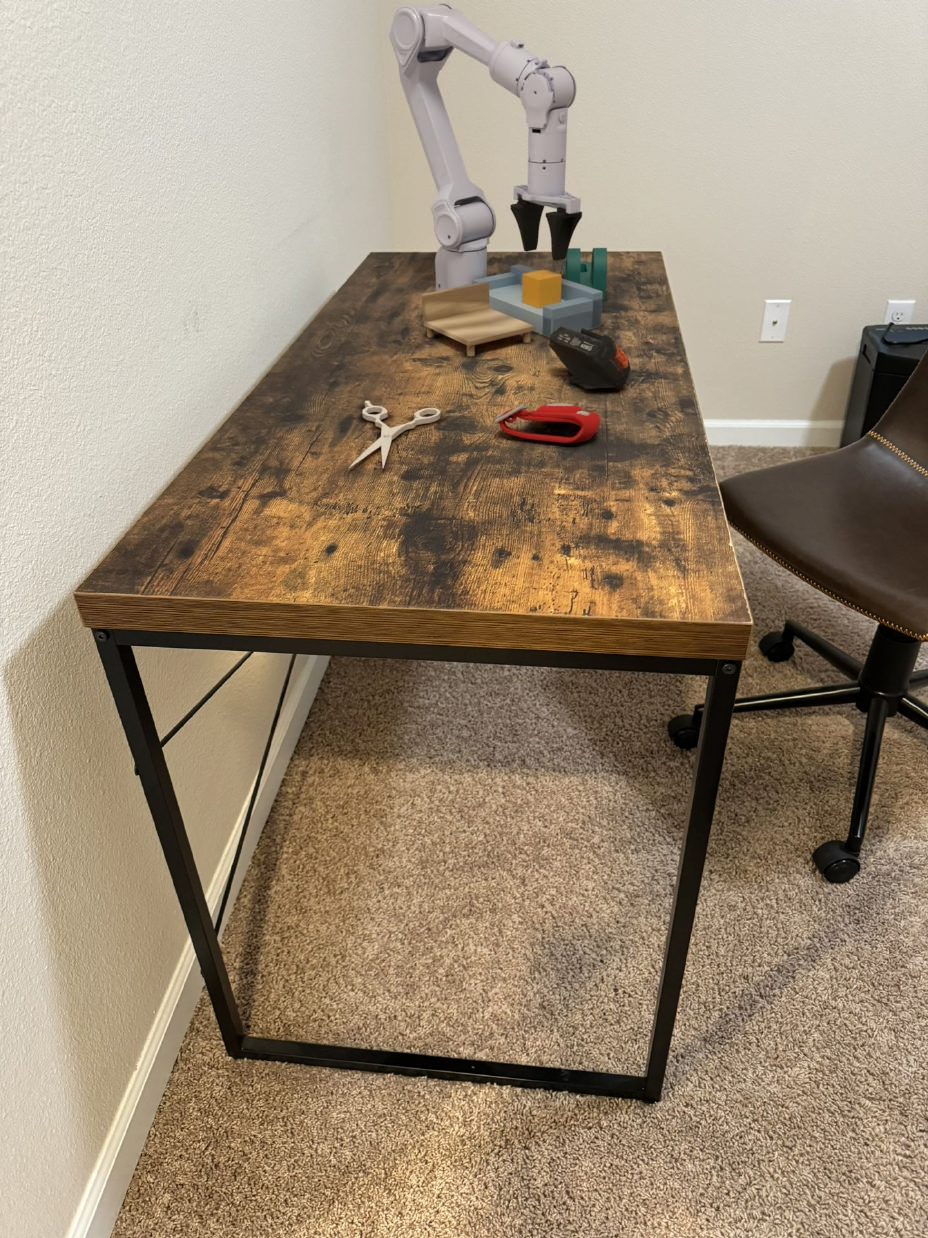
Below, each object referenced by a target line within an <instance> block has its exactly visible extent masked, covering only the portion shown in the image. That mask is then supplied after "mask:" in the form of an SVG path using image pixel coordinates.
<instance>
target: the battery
mask: <svg viewBox="0 0 928 1238" xmlns="http://www.w3.org/2000/svg"><path fill="white" fill-rule="evenodd" d="M548 347H549V348H550V349H551V350H552V351H553V352H554V354H555V355H556V357H557V358H558V359H559V361H560V363H562V365H564V367H565V368H566V369H567V371H568V372H569V373H570V374H571V375H572V377H570V378H568V380H569V381H571V382H572V383H574V384H575V385H577V386H579V387H580V388H582V389H583V390H587V391H588V390H595V389H621V388H622V387H624V386H625V385H626V383H627V381H628V378H629V374H630V373H631V369H632V368H631V367H632V366H631V364H630V360H629V359H628V358H627V356H626V354H625V352H624V351H623V350H622V348H621V347H620V346H619V345H618V344H617V343H616V341H615V340H614V339H613V338H612V337H611V336H610V335H608V334H604V335H602V334H601V333H600V334H599V333H597V332H594V331H592V330H590V329H589V330H586V329H584V328H582V329H581V332H577V331H574V330H571V329H568V328H565V327H562V326H560V327H559V328H558V330H556V331H553V332H552V334H551V335H550V338H549V340H548Z"/></svg>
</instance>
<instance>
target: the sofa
mask: <svg viewBox="0 0 928 1238" xmlns="http://www.w3.org/2000/svg"><path fill="white" fill-rule="evenodd" d="M534 271H539V270H538V269H535V268H532V267H529V266H526V265H523V264H521V263H519V264H514V265H511V266H510V272H504V273H500V274H499V273H498V274H495V275H489V276H487V277H484V278H479V279H474V280H472V284H475V283H479V282H484V281H486V282H489V308H491V309H493V310H496V311H498V312H501V313H503V314H506V315H508V316H511V317H513V318H516V319H518V320H521V321H523V322H526V323H528V324H531V325H533V326H534V331H533V332H534V333H536V334H539V335H541V336H543V337H546V338H549V339H550V335H551V334H552V332H553V331H556V330H558V328H559V327H560V326H562V327H565V328H568V329H571V330H574V331H577V332H579V333H581V329H582V328H584V329H586V330H589V331H590V330H592V329H596V328H601V327H602V313H603V301H602V296H603V292H602V291H599V290H596V289H593V288H590V287H587V286H584V285H581V284H578V283H575V282H572V281H569V280H566V279H563V277H562V282H561V302H559V303H555V304H550V305H546V306H543V308H540V309H538V308H536V307H533V306H530V305H528V304H525V303H522V274H525V273H530V272H534Z"/></svg>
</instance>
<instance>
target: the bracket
mask: <svg viewBox="0 0 928 1238" xmlns="http://www.w3.org/2000/svg"><path fill="white" fill-rule="evenodd" d="M581 250H582V249H581V247H568V251H567V255H566V258H565V264H563V267H562V278H563V279H566V280H569V281H572V282H575V283H578V284H581V285H584V286H587V287H590V288H593V289H596V290H599V291H602V292H603V296H602V302H606V296H607V280H608V248H607V247H593V248H592V251H591V261H581V260H582V253H581Z"/></svg>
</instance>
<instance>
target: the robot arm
mask: <svg viewBox="0 0 928 1238" xmlns="http://www.w3.org/2000/svg"><path fill="white" fill-rule="evenodd" d="M388 36H389V39H390V42H391V46H392V48H393V52H394V55H395V57H396V60H397V63H398V72H399V80H400V84H401V87H402V90H403V93H404V95H405V99H406V102H407V106H408V107H409V111H410V114H411V117H412V119H413V122H414V125H415V129H416V131H417V134H418V137H419V140H420V143H421V146H422V149H423V152H424V155H425V158H426V161H427V164H428V167H429V169H430V172H431V175H432V179H433V181H434V184H435V188H436V190H437V194H436V196H435V198H434V200H433V202H432V203H431V206H430V210H431V214H432V217H433V230H434V235H435V237H436V239H437V242H438V243H439V244H440V245H441V246H440V247H439V248H438V250H437V251H436V254H435V256H434V257H435V259H434V267H435V268H434V271H435V292H436V291H440V290H445V289H450V288H455V287H460V286H465V285H470V284H472V280H474V279H479V278H484V277H488V245H490V238H491V237H492V236H493V235H494V233H495V230H496V226H497V217H496V213H495V210H494V208H493V207H492V205H491V204H490V203H489V202H488V200H487V198H486V196H485V194H484V193H485V192H484V190H483V189H482V188H481V187H479V186H478V185H476V184H475V183H474V182H472V181H471V180H470V178H469V176H468V172H467V169H466V166H465V163H464V160H463V157H462V154H461V151H460V147H459V145H458V142H457V139H456V136H455V134H454V130H453V127H452V124H451V121H450V118H449V115H448V111H447V108H446V106H445V103H444V99H443V96H442V93H441V91H440V87H439V85H438V76H439V73H440V71H442V69H443V68H444V66H445V65H446V64H447V61H448V60H449V58H450V56H451V54H452V53H453V51H454V49H457V50H458V51H460V52H461V53H462V54H465V55H467V56H468V57H471V59H474V60H476V61H477V62H479V63H480V64H483V65H484V66H486V67H488V71H489V76H490V78H491V79H492V81H493V82H495V83H496V84H498V85H499V86H501V87H502V88H504V89H505V90H507V91H508V92H510V93H511V94H513V95H514V96H516V97H517V98H519V99H520V102H521V105H522V107H523V109H524V111H525V117H526V119H525V121H526V122H525V123H526V124H527V127H528V129H527V131H528V132H527V133H528V136H527V137H528V139H527V184H520V185H514V186H513V201H514V200H515V201H516V203H512V204H510V209H509V210H510V211H511V213H512V214H513V216H514V219H515V221H516V224H517V227H518V230H519V234H520V238H521V243H522V248H523V252H532V251H536V250H537V249H538V245H539V244H538V243H539V234H540V226H541V225H540V224H541V220H542V217H543V216H542V215H543V212H544V210H545V207H547V208H551V209H556V210H555V211H550V212H545V218H546V221H547V224H548V228H549V233H550V247H551V258H552V261H554V262H556V261H557V262H558V261H563V260H566V255H567V251H568V248H570V244H571V240H572V237H573V235H574V233H575V230H576V228H577V226H578V224H579V223H580V221H581V219H582V217H583V212H582V211H581V202H582V200H581V198H580V197H578V196H574V195H573V194H571V193H569V192H568V191H566V168H567V167H566V164H567V141H568V113H569V111H568V110H569V108H570V107H571V106H572V105H573V104H574V102H575V99H576V97H577V81H576V78H575V75H574V74H573V73H572V71H570V70H569V68H567V66H566V65H563V64H559V65H558V64H557V65H554V66H552V67H551V66H550V64H548V59H547V58H545V57H544V56H536V55H535V54H533V53H532V52H530V51H529V50H528V49H526V48H525V42H523V41H522V40H520V39H513V40H509V39H508V40H505V41H503V42H501V43H500V42H499V41H497V40H496V39H495V38H494V37H493V36H491V35H490V34H488V32H486V31H484V30H483V29H482V28H480V27H479V26H478V25H476V24H475V23H474V22H472V21H471V20H470V19H468V18H467V17H466V16H465V15H464V13H463V11H462V10H461V9H459V8H455V7H453V5H451V4H449V3H445V2H444V3H438V4H431V5H409V4H406V5H405V4H404V5H401V6H400V7H399V8H398V9H397V10H396V11H395V14H394V15H393V20H392V23H391V28H390V31H389V34H388Z"/></svg>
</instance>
